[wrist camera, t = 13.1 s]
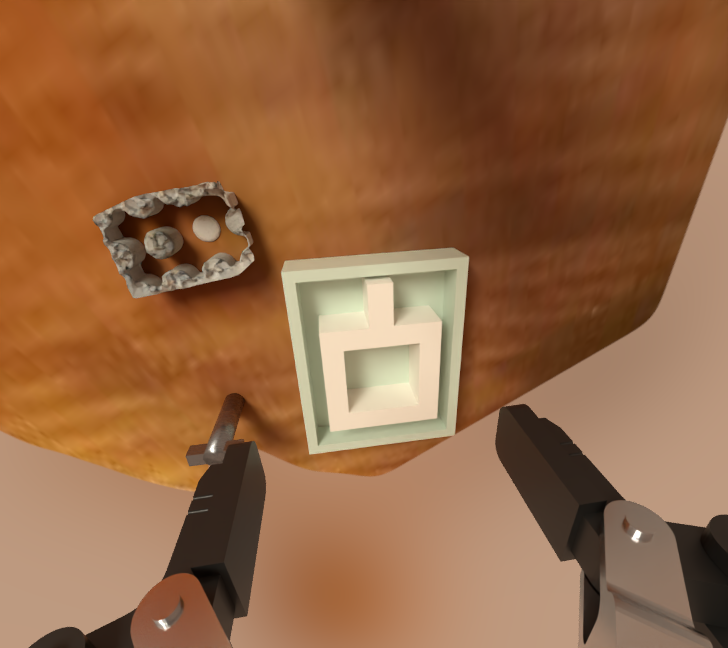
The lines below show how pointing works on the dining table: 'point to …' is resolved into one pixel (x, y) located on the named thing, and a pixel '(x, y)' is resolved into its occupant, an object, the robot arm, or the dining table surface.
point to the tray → (384, 364)
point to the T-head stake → (219, 434)
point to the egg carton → (171, 240)
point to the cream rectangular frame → (374, 331)
